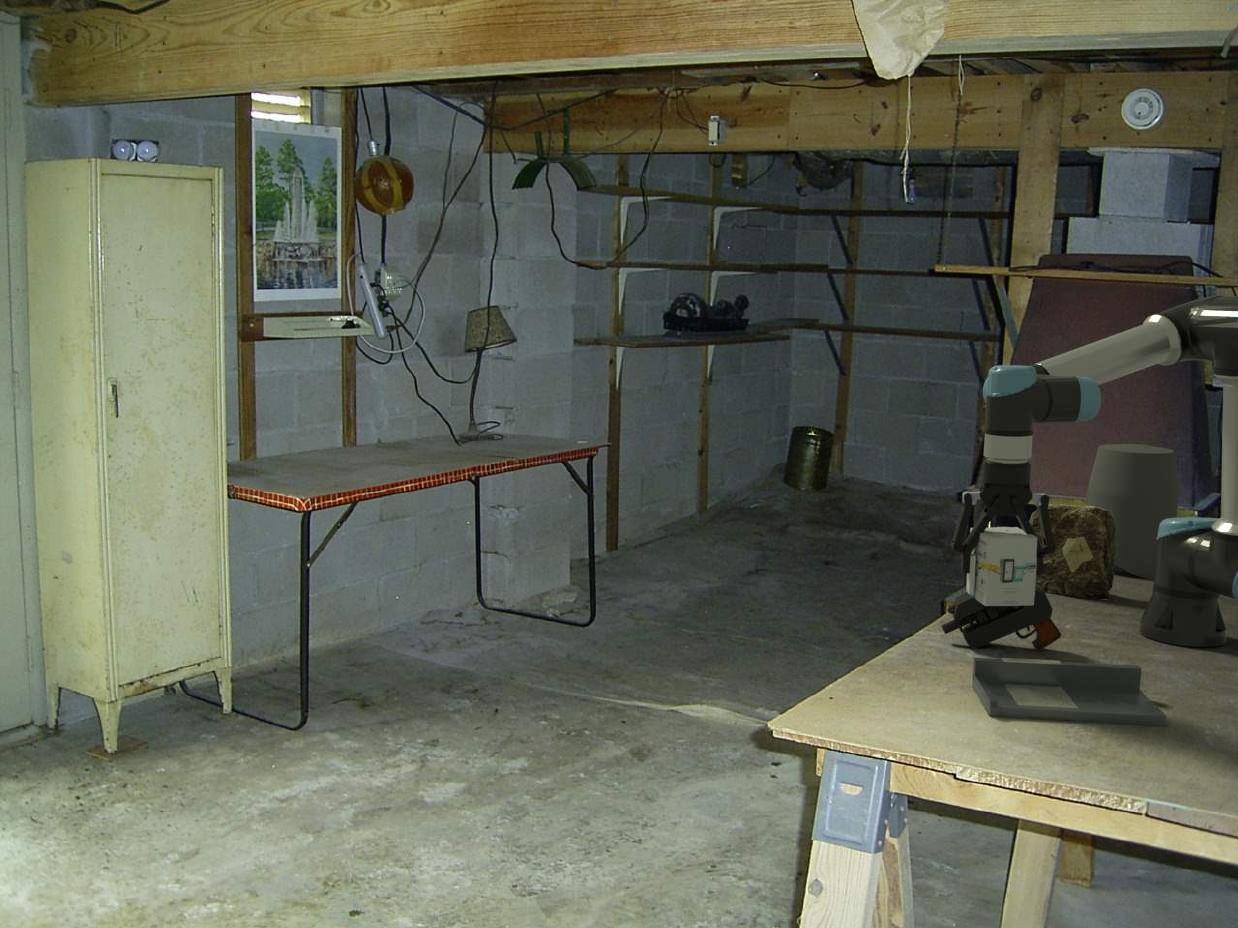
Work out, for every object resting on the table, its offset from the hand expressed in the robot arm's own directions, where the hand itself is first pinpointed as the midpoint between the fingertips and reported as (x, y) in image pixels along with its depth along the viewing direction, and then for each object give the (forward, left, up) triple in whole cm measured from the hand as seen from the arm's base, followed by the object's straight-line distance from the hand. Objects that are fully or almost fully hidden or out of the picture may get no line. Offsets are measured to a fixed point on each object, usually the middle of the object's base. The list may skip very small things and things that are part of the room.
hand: (1000, 592), depth 203 cm
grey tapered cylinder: (-50, -92, -15) cm, 105 cm away
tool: (-5, -19, -15) cm, 24 cm away
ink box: (0, 0, -1) cm, 1 cm away
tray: (-8, +13, -15) cm, 21 cm away
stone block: (-29, -64, -15) cm, 71 cm away
